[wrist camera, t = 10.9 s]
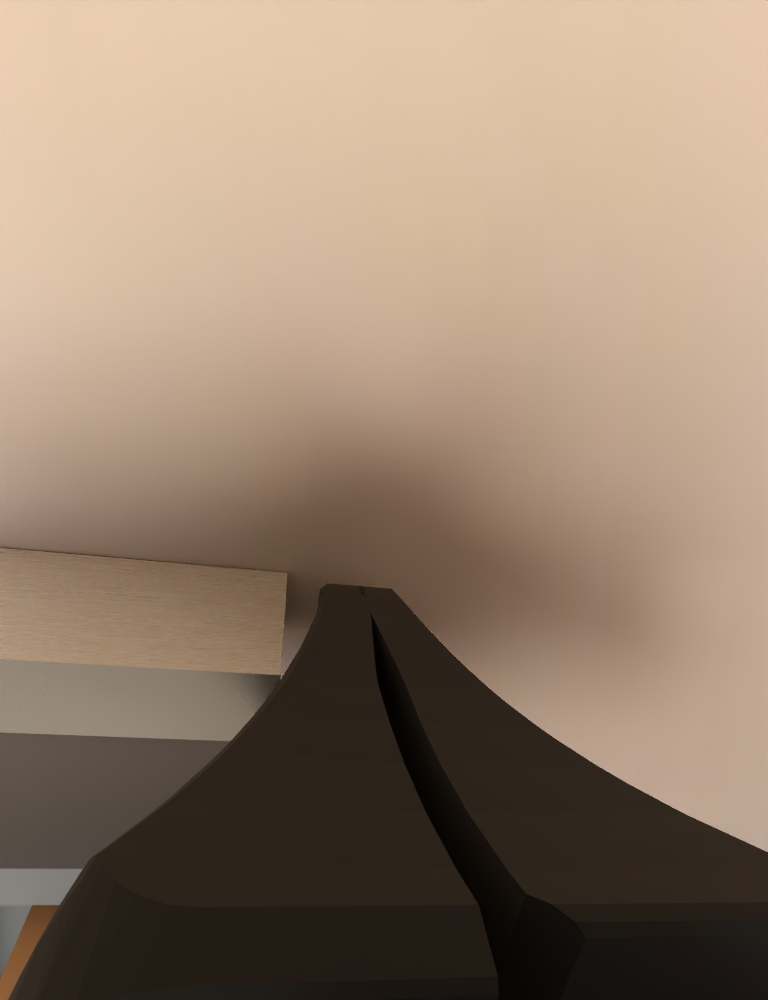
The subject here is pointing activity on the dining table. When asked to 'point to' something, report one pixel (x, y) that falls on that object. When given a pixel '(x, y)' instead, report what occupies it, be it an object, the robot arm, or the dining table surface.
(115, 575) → the bar
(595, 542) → the dining table surface
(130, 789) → the housing
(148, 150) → the dining table surface
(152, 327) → the dining table surface
